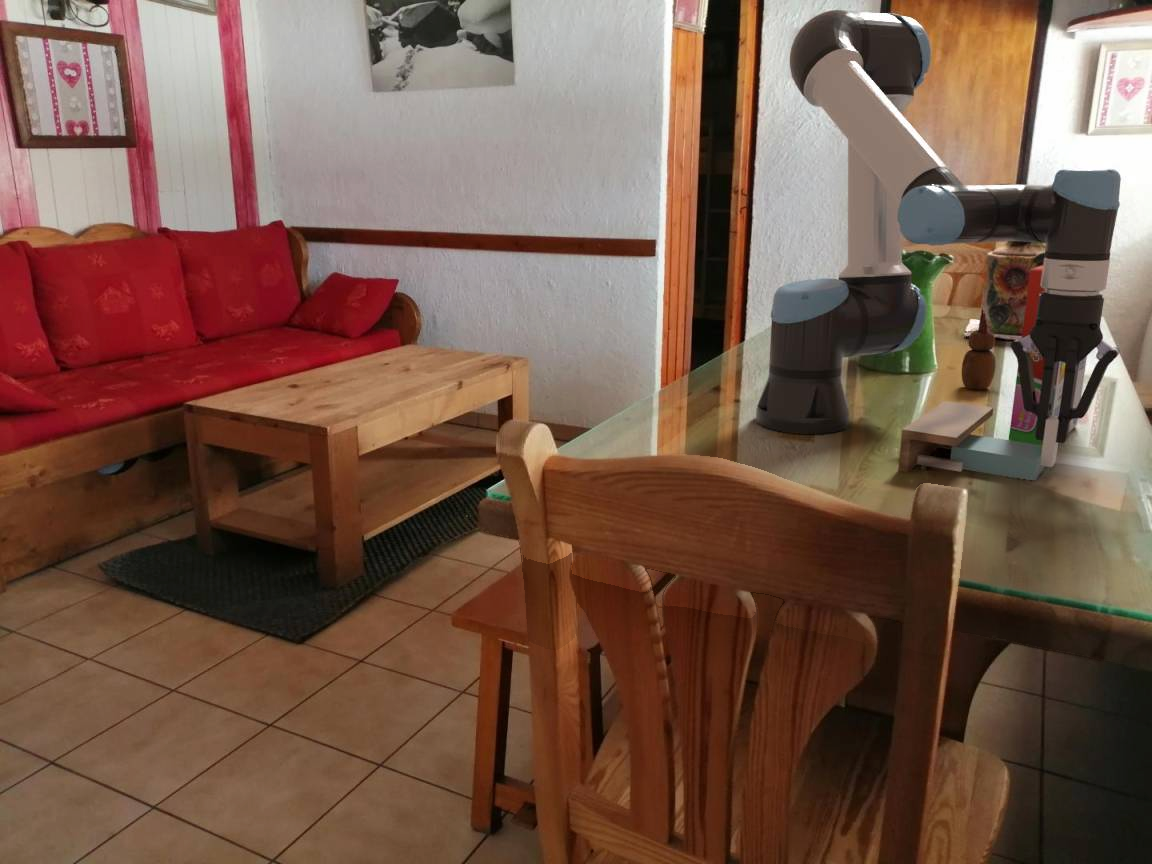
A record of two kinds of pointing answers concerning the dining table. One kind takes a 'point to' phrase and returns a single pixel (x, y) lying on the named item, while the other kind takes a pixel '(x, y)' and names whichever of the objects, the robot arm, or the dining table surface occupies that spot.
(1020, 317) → the cookie jar
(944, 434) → the overhang
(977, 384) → the wooden figurine
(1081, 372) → the game box
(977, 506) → the dining table surface
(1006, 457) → the slate blue rectangular box
